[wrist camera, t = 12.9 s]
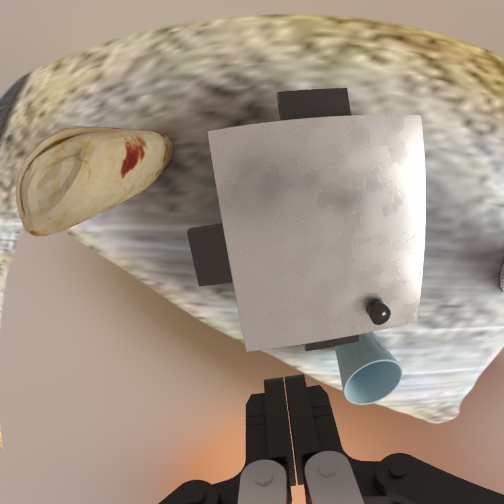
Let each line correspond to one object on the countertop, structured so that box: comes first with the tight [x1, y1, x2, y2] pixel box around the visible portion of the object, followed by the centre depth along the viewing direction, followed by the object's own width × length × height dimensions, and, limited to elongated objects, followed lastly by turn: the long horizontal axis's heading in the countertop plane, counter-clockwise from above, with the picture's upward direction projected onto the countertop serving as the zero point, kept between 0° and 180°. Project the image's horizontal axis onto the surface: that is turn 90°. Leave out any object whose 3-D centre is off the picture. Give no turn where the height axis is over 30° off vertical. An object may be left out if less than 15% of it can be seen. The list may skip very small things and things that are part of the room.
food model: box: [16, 126, 173, 236], centre depth 24 cm, size 10×7×20 cm
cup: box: [335, 331, 402, 405], centre depth 37 cm, size 8×8×10 cm
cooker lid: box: [187, 115, 426, 352], centre depth 25 cm, size 21×20×2 cm
